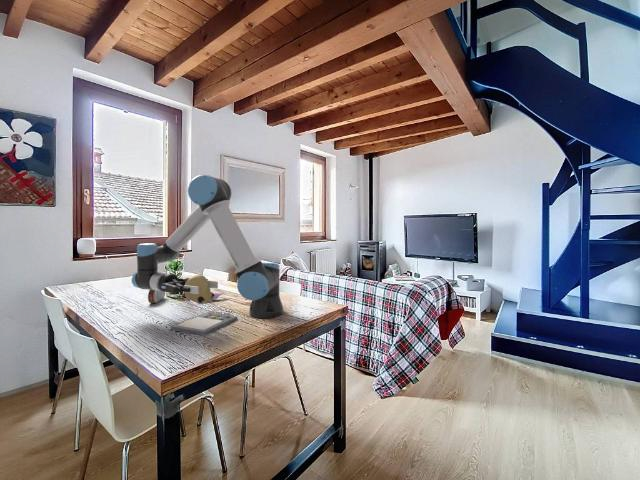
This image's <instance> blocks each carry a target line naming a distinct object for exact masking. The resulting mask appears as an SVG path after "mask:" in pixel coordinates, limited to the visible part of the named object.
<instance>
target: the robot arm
mask: <svg viewBox="0 0 640 480" xmlns="http://www.w3.org/2000/svg"><path fill="white" fill-rule="evenodd" d="M187 193H188V197H189V199H190V200H191V202H193V203H194V204H196V205H197V206H196V208H194V210H192V212H191V213H190V214H189V215H188V216H187V218H186V219H184V220H183V222H182V223H181V224H180V225H178V227H177V228H176V229H175V230H174V232H172V234H171V235H170V236H168V238H167V239H166V240H165V241H164V242H163V243H162V244H161V245H160V246H158V245H157V243H154V242H153V243H152V242H151V243H150V242H149V243H148V242H147V243H139V244H137V247H136V261H137V262H136V263H137V268H136V269H137V271H135V272H134V273H133V275H132V276H131V284H132V286H134V287H135V288H137V289H140V290H147V291H149V290H156V291H159V292H161V291H163V292H165V293H172V294H178V293H179V295H184V294H185V293H191V294H199V287H197V286H189V285H185V283H186V282H187V280H188V279H189V278H190V277H186V278H183V277H182V278H179V277H178V276H177V275H176V274H174V273H167V272H158V267H159V265H158V264H163V263H168V262H169V263H170V262H173V261H175V260H176V259H178V257H179V255H180V251H181V250H182V249H183V248H184V247H185V246H186V245H187V244H188V243H189V242H190V241H191V240H192V239H193V238H194V237H195V235H196V234H197V233H198V232H199V231H200V230H201V229H202V228H203V227H204V226H205V225H206V224H207V223H208V221H211V222H212V225H213V226H214V229H215V231H216V233H217V234H218V236H219V238H220V239H221V242H222V243H223V246H224V248H225V250H226V252H227V253H228V255H229V258H230V260H231V261H232V263H233V264H234V267H235V271H234V275H235V277H236V279H237V284H236V286H237V291H238V293H239V294H240V295H241V297H243V299H246V300H248V301H251V302H250V303H251V304H250V306H249V310H248V311H249V312H248V313H249V315H250V316H251V317H253V318H256V319H257V318H258V319H271V318H276V317H280V316H282V315H283V314H284V306H283V303H282V300H281V297H280V271H281V270H280V265H279V263H275V262H262V260H261V259H257V258H256V257H255V255H254V252H253V251H252V249H251V247H250V245H249V243H248V242H247V241H248V240H246V237H245V236H244V233H243V232H242V229H241V228H240V226H239V224H238V222H237V220H236V218H235V216H234V214H233V213H232V211H231V208H230V207H229V206H230V204H231V201H230V200H231V198H232V189H231V186H230V185H229V184H228V183H227V181H225V180H223V179H222V178H217V177H214V176H212V175H207V174H200V175H197V176H195V177H194V178H193V179H191V181H190V182H189V184H188V188H187ZM206 280H207V282H208V285H209V287H210V289H218V288H219V287H218V286H219V282H218V281H216V280H215V281H214V280H209V279H208V278H206Z"/></svg>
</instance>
